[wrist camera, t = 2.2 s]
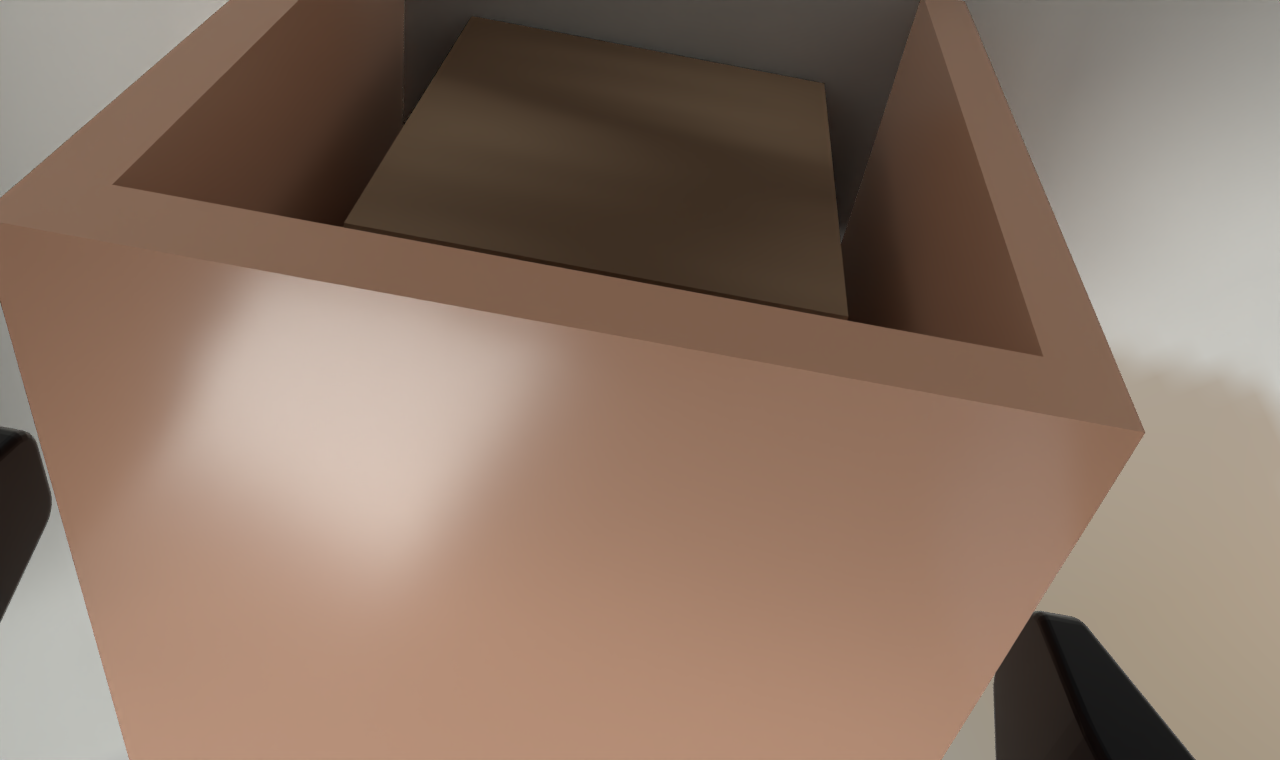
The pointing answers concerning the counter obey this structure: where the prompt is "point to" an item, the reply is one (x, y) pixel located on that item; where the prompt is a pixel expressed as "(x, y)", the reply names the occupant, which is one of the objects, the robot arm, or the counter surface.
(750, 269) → the walnut block
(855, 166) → the counter surface
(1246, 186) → the counter surface
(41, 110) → the counter surface
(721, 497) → the terracotta hood
